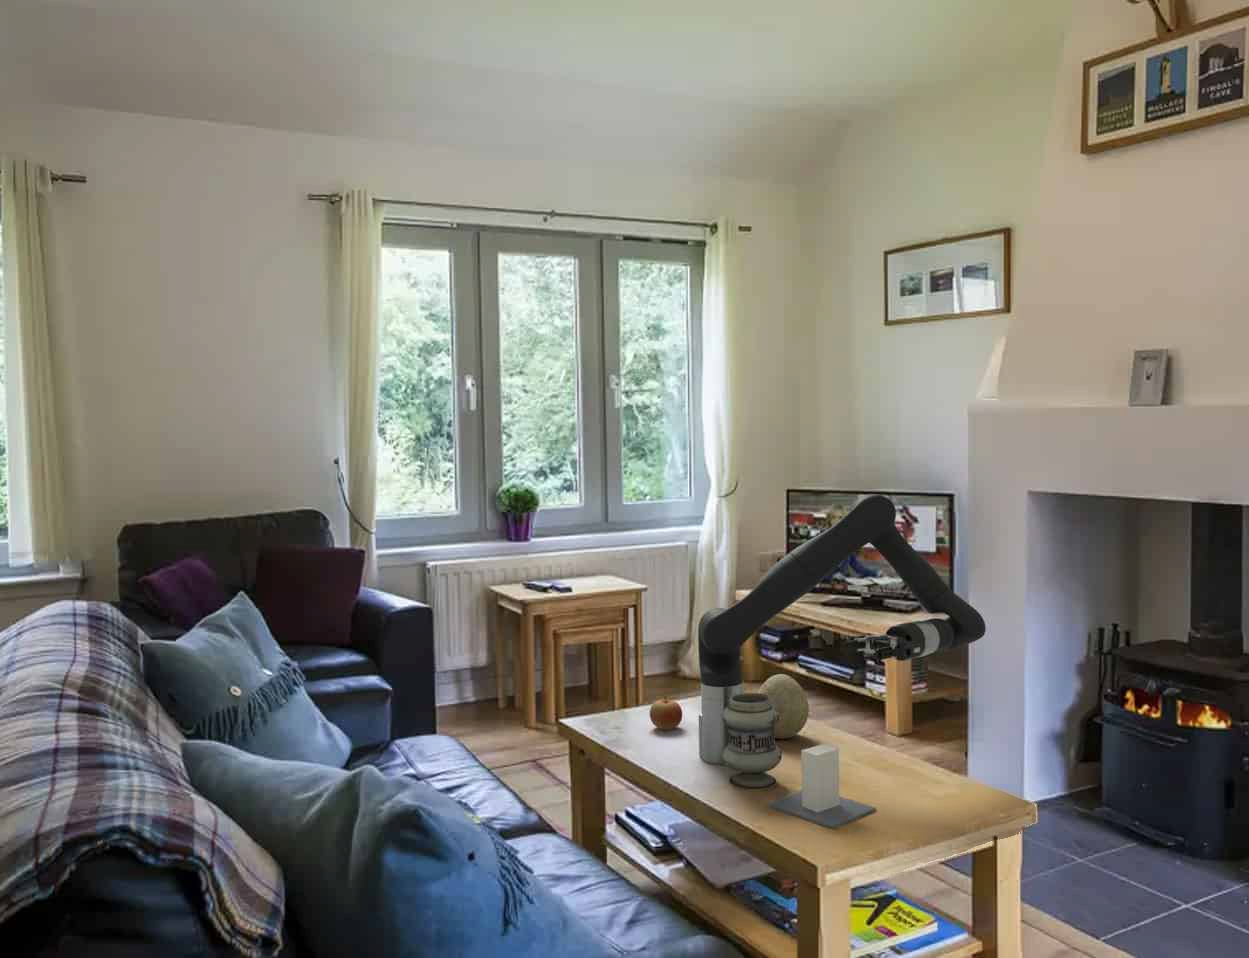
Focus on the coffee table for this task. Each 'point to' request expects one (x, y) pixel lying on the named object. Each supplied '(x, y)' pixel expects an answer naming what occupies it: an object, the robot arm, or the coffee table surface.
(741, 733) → the apothecary jar
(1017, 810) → the coffee table surface
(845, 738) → the coffee table surface
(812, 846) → the coffee table surface
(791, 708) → the fossilized egg
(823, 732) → the coffee table surface
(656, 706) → the apple
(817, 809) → the tall cream pillar block
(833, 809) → the mat
